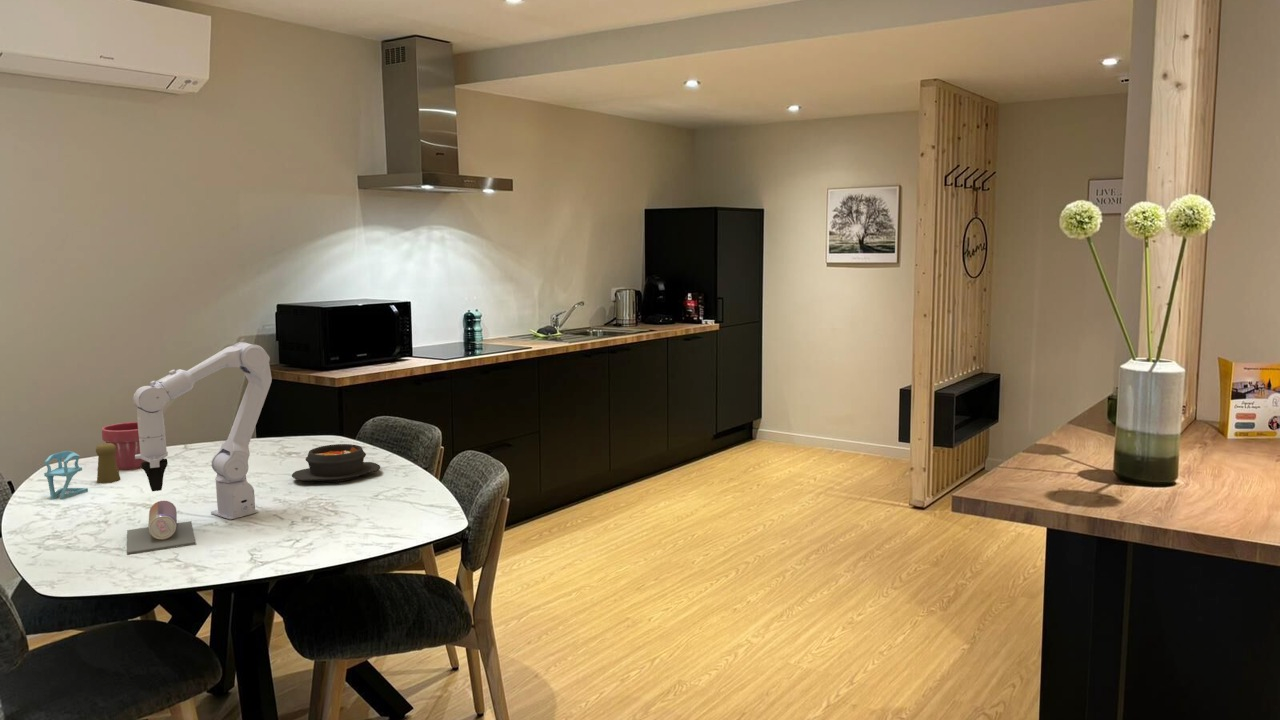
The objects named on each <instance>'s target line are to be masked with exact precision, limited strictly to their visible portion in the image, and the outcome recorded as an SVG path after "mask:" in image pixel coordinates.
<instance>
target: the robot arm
mask: <svg viewBox="0 0 1280 720" xmlns="http://www.w3.org/2000/svg"><path fill="white" fill-rule="evenodd" d="M270 359H271V357H270V355H269V354H268V353H267V351H266V350H265V348H263V347H262V346H261V345H259V344H251V343H249V342H245V341H239V342H237V343H235V344H233V345H230V346H227V347H225V348H223V349H222V350H220V351H218V352H217V353H216V354H213V355H212V356H210V357H209V358H206V359H205V360H203V361H201V362H200V363H198V364H196V365H194V366H193V367H191V368H190V369H188V370H185V369H181V368H179V369H176V370H175V369H171V370H169V371H168V373H169V374H167V375H165V376H163V377H162V378H159V379H158V380H152V381H150V382H149V383H150V385H143V386H141V387H138V388H137V389H136V391H135V392H134V394H133V397H132V399H131V400H132V402H133V404H134V407H136V412H137V413H136V415H137V419H136V422H138V433H139V445H140V454H137V455H135V459H142V460H145V461H146V462H142V463H141V466H142V467H141V469H143V471H144V473H145V474H146V477H147V479H148V484H149V487H150V490H151V492H159V491H160V492H161V491H162V489H163V483H164V476H165V475H164V474H165V470H166V468H167V466H168V458H166V457H168V455H169V452H168V450H167V440H166V439H167V437H166V426H165V416H164V407H166V404H167V403H169V402H171V401H173V400H175V399H176V398H178V397H180V396H182V395H184V394H186V393H187V392H190V391H191V390H193V388H194V385H195V383H196V382H197V381H200V380H202V379H204V378H206V377H207V376H209V375H213V374H214V373H216V372H218V371H220V370H222V369H224V368H239V370H241V371H242V372H243V374H244V377H246V379H247V386H246V388H245V391H244V393H243V396H242V399H241V402H240V404H239V407H238V409H237V412H236V416H235V418H234V421H233V424H232V426H231V430H230V432H229V434H228V437H227V439H226V440H225V441H224V442H223V443H222V444H221V446H220V448H219V451H217V453H216V454H215V455H214V456H213V458H212V459H211V468H212V470H213V471H214V472H215V473H216V476H215V490H216V491H215V492H216V503H217V509H216V510H212V511H210V514H211V515H215V516H218V517H221V518H225V519H227V520H234V519H239V518H242V517H245V516H249V515H254V514H256V513H259V512H260V510H259V509H257V508H256V499H255V489H254V487H253V486H252V484H251V483H249V482H248V480H247V473H248V471H249V459H250V448H249V445H250V443H251V440H252V437H253V434H254V431H255V428H256V425H257V423H258V420H259V417H260V415H261V412H262V408H263V407H264V404H265V401H266V398H267V395H268V393H269V390H270V387H271V384H272V380H273V378H272V372H271V366H270Z"/></svg>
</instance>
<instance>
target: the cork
mask: <svg viewBox="0 0 1280 720" xmlns="http://www.w3.org/2000/svg"><path fill="white" fill-rule="evenodd" d="M95 453H96V455H97V456H98V459H97V460H98V461H97V463H98V464H97V475H96V478H97V479H96V483H97V484H112V483H116V482H119V481H121V476H120V471H119V469H118V467H117V463H116V459H115V453H116V446H115V445H114V444H112V443H106V442H105V443H101V444H98V445H97V446H96V447H95Z"/></svg>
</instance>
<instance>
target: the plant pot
mask: <svg viewBox="0 0 1280 720" xmlns="http://www.w3.org/2000/svg"><path fill="white" fill-rule="evenodd" d="M101 439H102V441H103V442H105V443H112V444H114V445H115V446H116V453H115V459H116V463H117V467H118V471H119V470H121V471H123V470H124V471H128V470H136V469H142V466H141V463H142V462H146V461H145V460H142V459H135V455H137V454H140V445H139V433H138V422H137V421H128V422H127V421H126V422H120V423H119V422H118V423H114V424H109V425H106V426H103V427H102V428H101Z"/></svg>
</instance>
